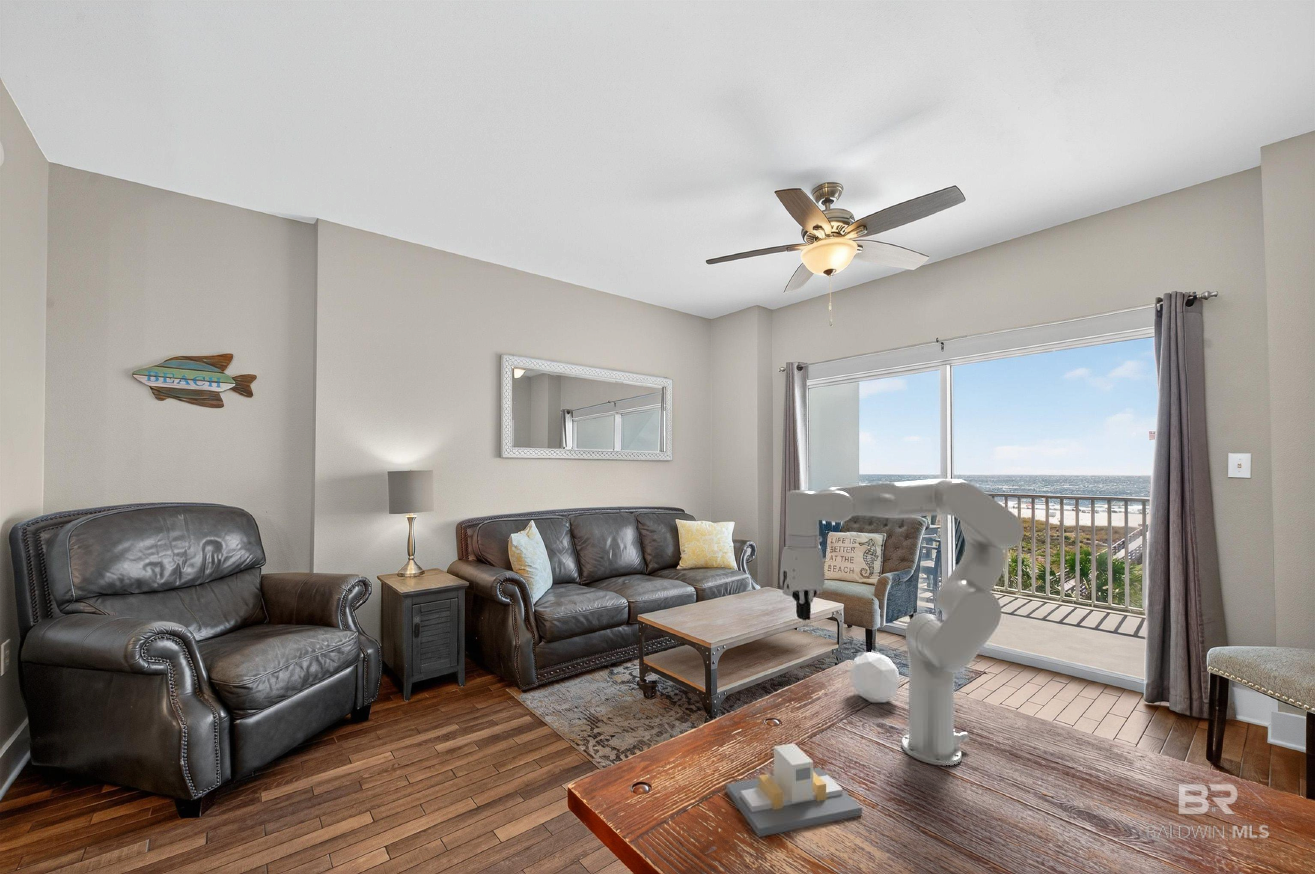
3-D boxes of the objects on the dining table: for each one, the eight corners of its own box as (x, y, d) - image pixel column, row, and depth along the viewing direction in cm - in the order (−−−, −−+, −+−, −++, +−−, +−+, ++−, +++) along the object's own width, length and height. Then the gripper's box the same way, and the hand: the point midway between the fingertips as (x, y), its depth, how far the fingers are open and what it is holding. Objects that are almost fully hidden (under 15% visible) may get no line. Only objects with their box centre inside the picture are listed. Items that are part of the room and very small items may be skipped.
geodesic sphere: (840, 685, 151) (872, 648, 150) (833, 667, 164) (862, 632, 163) (884, 721, 149) (916, 684, 148) (872, 700, 162) (902, 665, 161)
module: (793, 777, 112) (793, 743, 113) (813, 798, 105) (813, 762, 106) (773, 781, 111) (774, 746, 111) (792, 803, 104) (793, 765, 104)
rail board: (819, 774, 118) (819, 753, 118) (861, 815, 105) (861, 791, 105) (726, 791, 111) (726, 768, 112) (758, 836, 98) (759, 811, 98)
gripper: (819, 538, 138) (819, 611, 137) (767, 541, 133) (768, 617, 132) (838, 542, 131) (839, 619, 130) (784, 545, 126) (785, 626, 125)
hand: (803, 618), depth 131 cm, fingers closed
